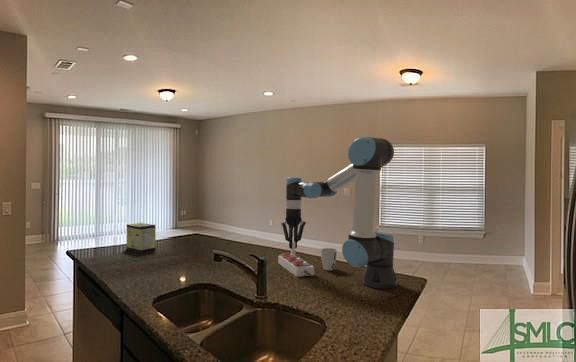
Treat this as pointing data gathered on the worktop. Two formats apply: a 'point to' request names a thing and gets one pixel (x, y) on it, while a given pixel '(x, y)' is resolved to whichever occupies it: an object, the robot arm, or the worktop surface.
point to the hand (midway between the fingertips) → (292, 254)
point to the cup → (328, 258)
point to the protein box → (141, 237)
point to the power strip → (296, 266)
